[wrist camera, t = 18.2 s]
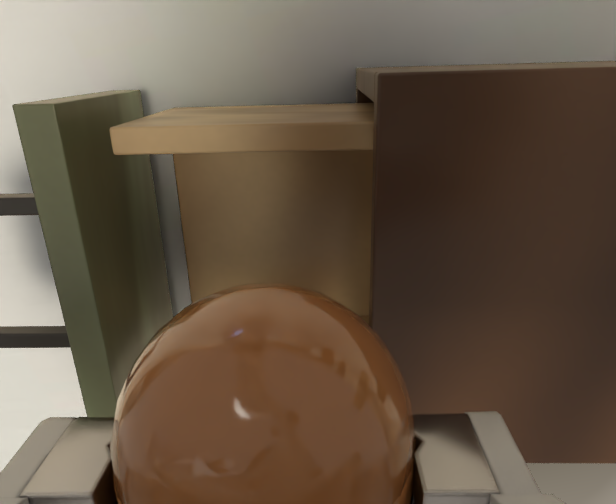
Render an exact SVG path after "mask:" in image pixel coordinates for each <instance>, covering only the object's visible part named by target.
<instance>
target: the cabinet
mask: <svg viewBox="0 0 616 504" xmlns="http://www.w3.org/2000/svg"><path fill="white" fill-rule="evenodd" d="M356 103H374V135H373V177H372V219H371V261H370V303H369V326H370V327H371V328H372V329H373V330H374V331H375V332H376V333H377V334H378V335H379V337H380V338H381V339H382V340H383V342H384V343H385V344H386V346H387V348H388V349H389V351H390V352H391V354H392V356H393V357H394V359H395V361H396V362H397V364H398V366H399V369H400V371H401V373H402V376H403V378H404V381H405V384H406V387H407V390H408V393H409V396H410V399H411V402H412V411H413V414H435V413H465V412H484V411H497V412H498V413H499V414H500V415H501V416H502V418H503V420H504V422H505V424H506V425H507V427H508V429H509V431H510V433H511V435H512V437H513V439H514V441H515V443H516V445H517V447H518V449H519V451H520V452H521V454H522V456H523V458H524V460H525V462H526V463H616V61H589V62H552V63H515V64H478V65H441V66H404V67H367V68H356Z"/></svg>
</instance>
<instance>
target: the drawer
mask: <svg viewBox="0 0 616 504" xmlns="http://www.w3.org/2000/svg"><path fill="white" fill-rule="evenodd" d="M13 110H14V114H15V118H16V123H17V127H18V131H19V135H20V139H21V143H22V148H23V152H24V156H25V160H26V164H27V168H28V172H29V177H30V181H31V185H32V189H33V193H26V194H0V216H5V215H39V218H40V222H41V226H42V231H43V235H44V239H45V243H46V247H47V251H48V255H49V260H50V264H51V268H52V272H53V276H54V280H55V284H56V289H57V293H58V297H59V301H60V305H61V309H62V313H63V318H64V322H65V326H20V327H0V348H58V347H71V351H72V355H73V359H74V363H75V367H76V372H77V376H78V380H79V384H80V388H81V392H82V396H83V401H84V405H85V409H86V413H87V417H115V411H116V405H117V400H118V398H119V395H120V393H121V391H122V388H123V386H124V383H125V381H126V379H127V376H128V374H129V372H130V370H131V368H132V365H133V363H134V361H135V360H136V358H137V357H138V356H139V354H140V353H141V352H142V350H143V349H144V348H145V346H146V345H147V344H148V342H149V341H150V340H151V338H152V337H153V336H154V335H155V333H156V332H157V331H158V330H159V329H160V328H161V327H162V326H163V325H165V324H166V323H167V322H168V321H169V320H171V319H172V318H173V312H172V305H171V299H170V292H169V285H168V278H167V271H166V264H165V257H164V251H163V244H162V237H161V230H160V223H159V216H158V209H157V203H156V196H155V189H154V182H153V175H152V168H151V161H150V155H149V154H173V161H174V168H175V176H176V184H177V192H178V200H179V207H180V215H181V223H182V231H183V239H184V246H185V254H186V262H187V270H188V278H189V285H190V293H191V301H192V303H194V302H195V301H197V300H199V299H201V298H204V297H206V296H208V295H211V294H213V293H216V292H219V291H221V290H224V289H227V288H230V287H234V286H238V285H243V284H250V283H262V282H270V283H283V284H289V285H295V286H300V287H305V288H309V289H312V290H315V291H318V292H321V293H323V294H325V295H327V296H328V297H330V298H332V299H334V300H336V301H338V302H339V303H341V304H343V305H345V306H347V307H349V308H350V309H351V310H352V311H354V312H355V313H356V314H358V315H359V316H360V317H361V318H362V319H363V320H364V321H365V322H366V323H367V324H368V325H369V303H370V261H371V219H372V177H373V135H374V103H344V104H303V105H261V106H220V107H179V108H171V109H168V110H164V111H161V112H158V113H155V114H152V115H149V116H145V117H144V113H143V107H142V100H141V93H140V90H112V91H105V92H98V93H91V94H84V95H77V96H70V97H62V98H55V99H48V100H41V101H34V102H27V103H20V104H14V105H13Z"/></svg>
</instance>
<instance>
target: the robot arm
mask: <svg viewBox="0 0 616 504" xmlns="http://www.w3.org/2000/svg"><path fill="white" fill-rule="evenodd" d="M114 418H115V417H79V418H75V417H50V418H48V419H46V420H44V421H41V422H40V424H39V425H38V426H37V427H36V429H35V430H34V431H33V432H32V434H31V435H30V436H29V437H28V439H27V440H26V441H25V443H24V444H23V445H22V446H21V448H20V449H19V450H18V451H17V453H16V454H15V455H14V456H13V458H12V459H11V460H10V462H9V463H8V464H7V465H6V467H5V468H4V469H3V470H2V472H1V473H0V504H118V502H117V498H116V494H115V489H114V481H113V472H112V462H111V452H110V444H111V437H112V431H113V424H114ZM413 420H414V432H415V445H416V448H415V453H414V473H413V491H412V492H413V504H566V503H564V502H563V501H562V500H560V499H559V498H557V497H556V496H555V495H553V494H542V493H541V491H540V489H539V487H538V485H537V483H536V481H535V479H534V478H533V476H532V474H531V472H530V470H529V468H528V466H527V464H526V462H525V460H524V458H523V456H522V454H521V452H520V451H519V449H518V447H517V445H516V443H515V441H514V439H513V437H512V435H511V433H510V431H509V429H508V427H507V425H506V424H505V422H504V420H503V418H502V416H501V415H500V414H499V413H498V412H497V411H484V412H465V413H435V414H413Z"/></svg>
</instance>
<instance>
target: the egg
mask: <svg viewBox="0 0 616 504" xmlns="http://www.w3.org/2000/svg"><path fill="white" fill-rule="evenodd" d="M415 448H416V445H415V432H414V420H413V411H412V402H411V399H410V396H409V393H408V390H407V387H406V384H405V381H404V378H403V376H402V373H401V371H400V369H399V366H398V364H397V362H396V361H395V359H394V357H393V356H392V354H391V352H390V351H389V349H388V348H387V346H386V344H385V343H384V342H383V340H382V339H381V338H380V337H379V335H378V334H377V333H376V332H375V331H374V330H373V329H372V328H371V327H370V326H369V325H368V324H367V323H366V322H365V321H364V320H363V319H362V318H361V317H360V316H359V315H358V314H356V313H355V312H354V311H352V310H351V309H350V308H349V307H347V306H345V305H343V304H341V303H339V302H338V301H336V300H334V299H332V298H330V297H328V296H327V295H325V294H323V293H321V292H318V291H315V290H312V289H309V288H305V287H300V286H295V285H289V284H283V283H270V282H262V283H250V284H243V285H238V286H234V287H230V288H227V289H224V290H221V291H219V292H216V293H213V294H211V295H208V296H206V297H204V298H201V299H199V300H197V301H195V302H194V303H192V304H190V305H189V306H187V307H185V308H184V309H183V310H182V311H180V312H179V313H178V314H177V315H176V316H174V317H173V318H172V319H171V320H169V321H168V322H167V323H166V324H165V325H163V326H162V327H161V328H160V329H159V330H158V331H157V332H156V333H155V335H154V336H153V337H152V338H151V340H150V341H149V342H148V344H147V345H146V346H145V348H144V349H143V350H142V352H141V353H140V354H139V356H138V357H137V358H136V360H135V361H134V363H133V365H132V368H131V370H130V372H129V374H128V376H127V379H126V381H125V383H124V386H123V388H122V391H121V393H120V395H119V398H118V400H117V405H116V411H115V418H114V424H113V431H112V437H111V444H110V452H111V462H112V472H113V481H114V489H115V494H116V498H117V502H118V504H413V492H412V491H413V473H414V453H415Z"/></svg>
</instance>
